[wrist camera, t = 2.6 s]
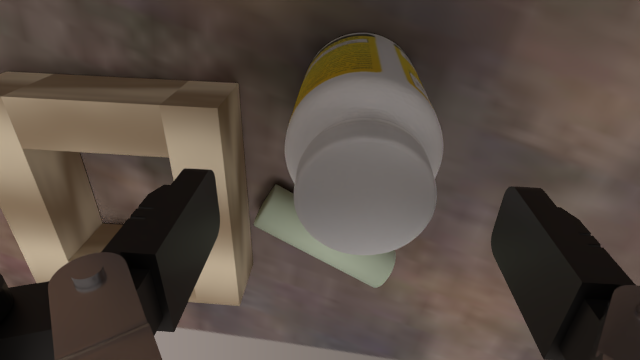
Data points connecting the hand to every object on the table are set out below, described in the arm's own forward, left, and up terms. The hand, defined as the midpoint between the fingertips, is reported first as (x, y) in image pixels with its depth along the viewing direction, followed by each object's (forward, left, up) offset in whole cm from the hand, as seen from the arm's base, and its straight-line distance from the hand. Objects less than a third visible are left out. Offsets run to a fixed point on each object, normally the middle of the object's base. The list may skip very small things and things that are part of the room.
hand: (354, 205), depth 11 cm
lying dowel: (+8, -1, -10) cm, 12 cm away
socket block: (+6, -12, -10) cm, 16 cm away
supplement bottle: (0, 0, -10) cm, 10 cm away
